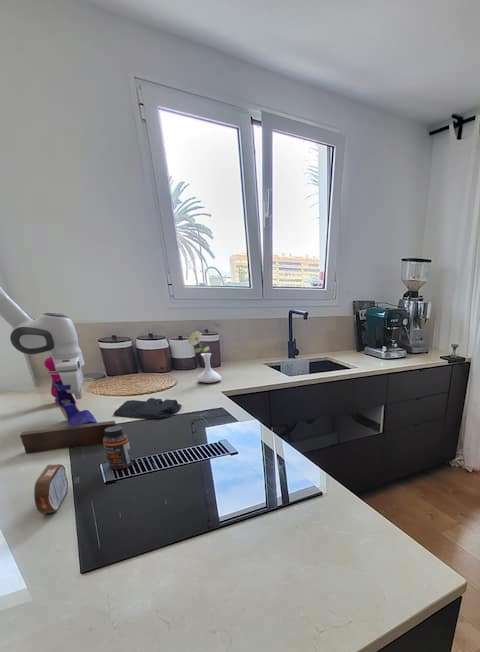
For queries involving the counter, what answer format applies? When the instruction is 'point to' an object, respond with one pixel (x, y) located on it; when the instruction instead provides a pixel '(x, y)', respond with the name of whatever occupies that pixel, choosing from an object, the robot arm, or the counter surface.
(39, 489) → the tin
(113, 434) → the supplement bottle
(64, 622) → the counter surface
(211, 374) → the flower in vase
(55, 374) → the pepper mill
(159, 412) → the dark grey glove
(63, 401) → the sandal
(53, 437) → the dark wooden plank
